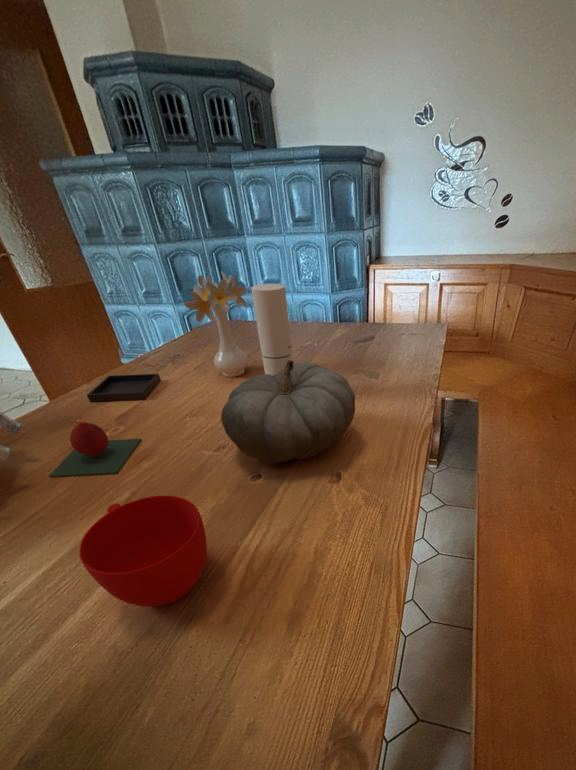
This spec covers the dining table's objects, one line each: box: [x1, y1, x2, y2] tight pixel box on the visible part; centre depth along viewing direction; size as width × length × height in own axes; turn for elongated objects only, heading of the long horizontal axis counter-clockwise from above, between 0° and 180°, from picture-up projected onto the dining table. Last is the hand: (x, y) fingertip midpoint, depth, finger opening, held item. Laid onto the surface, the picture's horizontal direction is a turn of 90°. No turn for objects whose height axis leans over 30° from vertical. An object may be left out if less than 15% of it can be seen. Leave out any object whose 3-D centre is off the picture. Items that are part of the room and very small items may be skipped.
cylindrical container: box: [250, 283, 295, 376], centre depth 89 cm, size 7×7×25 cm
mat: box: [48, 438, 142, 478], centre depth 75 cm, size 12×12×1 cm
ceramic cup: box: [78, 495, 208, 607], centre depth 49 cm, size 13×17×10 cm
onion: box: [69, 419, 109, 457], centre depth 72 cm, size 6×6×8 cm
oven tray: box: [86, 373, 162, 403], centre depth 100 cm, size 13×12×2 cm
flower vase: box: [184, 270, 249, 378], centre depth 101 cm, size 13×18×25 cm
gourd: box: [220, 360, 356, 464], centre depth 73 cm, size 25×25×17 cm
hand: (14, 441), depth 68 cm, fingers open, 8 cm apart
